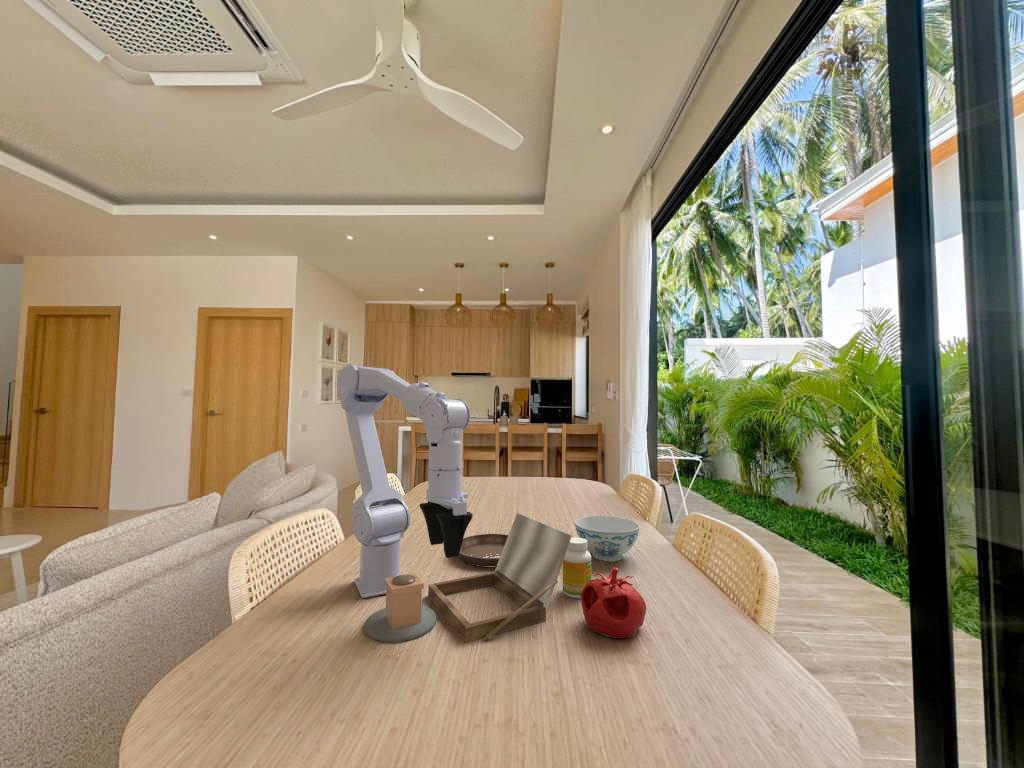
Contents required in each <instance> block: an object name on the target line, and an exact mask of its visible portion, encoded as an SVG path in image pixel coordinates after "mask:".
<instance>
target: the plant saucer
mask: <svg viewBox="0 0 1024 768" xmlns="http://www.w3.org/2000/svg"><path fill="white" fill-rule="evenodd" d="M508 535H509V534H504V533H502V534H501V533H481V534H475V535H470V536H467V537H463V541H462V545H461V550H460V553H459V556H458V557H460V559H462V560H463V561H464V562H465V563H467V564H468V563H470V564H469V565H471V564H473V565H472V566H475V565H479V566H478V567H481V566H497V564H498V561H499V559H500V558H490V557H495V556H501V554H502V551H503V548H504V546H505V543H506V540H507V538H508ZM490 553H491V554H490ZM486 554H487V555H486ZM496 554H499V555H496ZM471 555H472V556H471ZM490 555H492V556H490ZM486 556H489V557H488V558H483V557H486Z"/></svg>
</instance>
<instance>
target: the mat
mask: <svg viewBox="0 0 1024 768" xmlns="http://www.w3.org/2000/svg"><path fill="white" fill-rule="evenodd" d="M436 614H437V613H435V611H434V610H433V609H432V608H430V607H428V606H425V605H422V604H421V622H420V623H416V624H412V625H408V626H404V627H400V628H395V629H392V628H391V626H390V624H389V623H388V621H387V619H386V617H385V615H386V607H384V608H382V609H379V610H378V611H375V612H373V613H372V614H371V615H369V617H368V618H366V620H365V623H364V633H365V635H366V636H367V637H369V638H370V639H372V640H375V641H377V642H383V643H402V642H408V641H412V640H414V639H417V638H420V637H423V636H425V635H426V634H428V633H429V632H431V630H433V629H434V628H435V626H436V624H437V615H436Z"/></svg>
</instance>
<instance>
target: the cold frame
mask: <svg viewBox="0 0 1024 768" xmlns="http://www.w3.org/2000/svg"><path fill="white" fill-rule="evenodd" d="M507 535H508V538H507V540H506V543H505V546H504V548H503V551H502V554H501V556H500V559H499V561H498V564H497V567H495V569H494V571H491V572H486V573H481V574H474V575H471V576H464V577H459V578H455V579H450V580H444V581H439V582H435V583H430V584H428V585H427V586H428V590H427V591H428V592H427V593H428V595H427V597H429V599H430V598H431V599H430V600H431V601H432V602H433V603H434V604H435V606H436V607H437V608H438V610H439V611H440V612H441V613H442V615H444V617H445V618H446V620H448V622H449V623H450V624H451V625H452V626H453V628H454V629H455V630H456V631H457V633H458V634H459V635H460V637H461V638H462V639H463V640H464V641H465V643H468V642H471V641H476V640H481V639H482V638H483V639H484V640H485V641H488V640H489V639H490V638H491V637H492V636H494V635H498V634H501V633H504V632H509V631H512V630H515V629H519V628H522V627H526V626H530V625H533V624H537V623H541V622H543V621H546V620H547V609H548V607H549V603H550V600H551V597H552V595H553V593H554V589H555V586H556V585H557V584H558V577H559V575H560V572H561V568H562V567H563V560H564V557H565V554H566V551H567V548H568V545H569V543H570V540H571V538H572V536H573V535H570V534H568V533H566V532H564V531H561V530H559V529H556V528H554V527H552V526H549V525H548V524H547V525H546V524H545V523H542V522H540V521H537V520H535V519H533V518H530V517H527V516H525V515H523V514H522V513H521V514H520V513H519V512H517V513H516V515H515V517H514V520H513V522H512V525H511V528H510V531H509V533H508V534H507ZM491 584H493V585H494V586H495V585H496V586H495V587H497V588H498V589H499V590H500V591H502V592H503V593H504V594H505V595H507V596H508V597H509V598H511V600H513V601H515V603H517V604H518V605H519V606H521V607H519V608H518V609H516V610H515V611H514V612H508V613H505V614H502V615H497V616H495V617H494V616H493V617H490V618H486V619H483V620H478V621H474V622H471V623H470V622H469V621H468V619H467V618H466V617H465V616H464V615H463V614H462V613H461V612H460V611H459V610H458V608H457V607H456V606H455V605H454V604H453V603H452V602H451V601H450V600H449V599H448V597H447V596H446V595H449V594H455V593H458V592H459V593H460V592H463V591H469V590H474V589H477V588H482V587H486V586H487V585H488V586H492V585H491Z"/></svg>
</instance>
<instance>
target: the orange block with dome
mask: <svg viewBox="0 0 1024 768" xmlns="http://www.w3.org/2000/svg"><path fill="white" fill-rule="evenodd" d="M384 584H385V585H386V594H385V608H386V615H385V617H386V619H387V621H388V623H389V624H390V626H391V628H392V629H395V628H400V627H404V626H408V625H412V624H416V623H420V622H421V605H422V592H423V591H422V590H423V589H424V588H425V587H424V586H425V584H424V582H423V581H422V580H421V578H420V577H419V576H418V575H417V573H416V572H413V573H412V572H411V573H407V574H400V575H399V576H395V577H389V578H385V582H384Z"/></svg>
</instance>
